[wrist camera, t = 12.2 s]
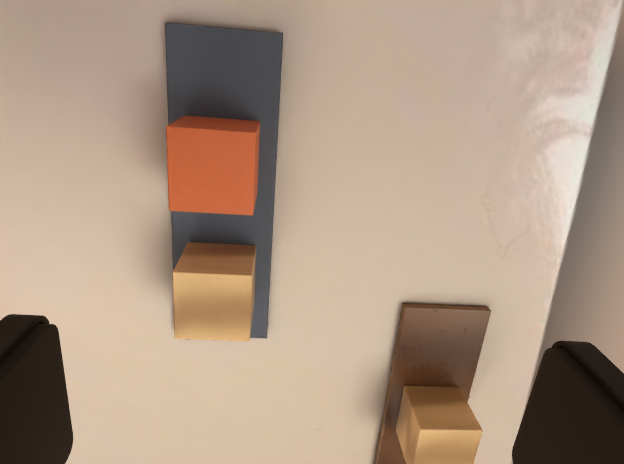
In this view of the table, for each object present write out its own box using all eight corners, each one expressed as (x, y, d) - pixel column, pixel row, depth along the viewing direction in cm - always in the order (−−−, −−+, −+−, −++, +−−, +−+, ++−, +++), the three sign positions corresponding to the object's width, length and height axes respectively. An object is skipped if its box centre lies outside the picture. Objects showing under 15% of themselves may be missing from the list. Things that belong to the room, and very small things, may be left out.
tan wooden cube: (187, 241, 29) (172, 271, 25) (256, 245, 29) (252, 275, 25) (188, 301, 30) (174, 339, 26) (254, 303, 31) (249, 341, 27)
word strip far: (402, 302, 32) (404, 307, 32) (487, 306, 33) (491, 310, 32) (367, 501, 39) (368, 507, 39) (438, 501, 40) (440, 507, 39)
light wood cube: (403, 385, 34) (420, 429, 30) (459, 386, 34) (483, 430, 30) (395, 429, 36) (409, 477, 32) (448, 430, 36) (469, 478, 32)
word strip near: (167, 23, 25) (164, 22, 24) (283, 33, 25) (283, 33, 25) (177, 330, 32) (175, 335, 31) (267, 333, 32) (266, 338, 32)
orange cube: (184, 115, 26) (165, 125, 22) (260, 120, 26) (256, 132, 22) (185, 188, 28) (168, 211, 23) (257, 192, 28) (253, 215, 24)
